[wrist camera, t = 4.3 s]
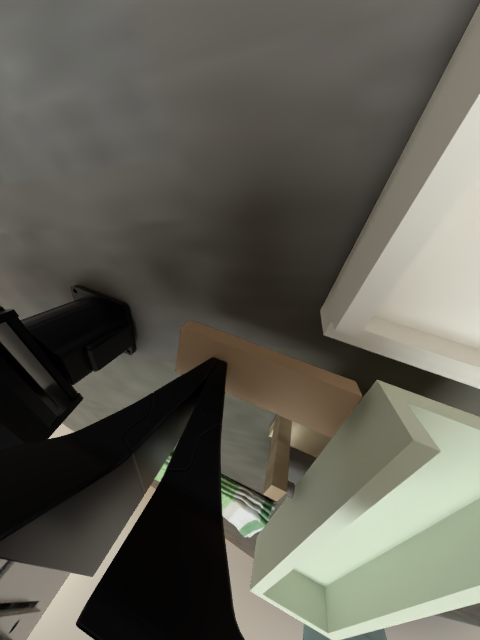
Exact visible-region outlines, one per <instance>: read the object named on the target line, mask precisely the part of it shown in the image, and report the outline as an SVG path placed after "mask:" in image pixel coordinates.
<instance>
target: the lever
mask: <svg viewBox="0 0 480 640" xmlns="http://www.w3.org/2000/svg"><path fill="white" fill-rule="evenodd" d="M212 357H215V358H218V359H220V360H223V361H225V362H227V375H226V386H225V392H226V393H228V394H230V395H233V396H235V397H237V398H240V399H242V400H244V401H247V402H249V403H251V404H254V405H256V406H258V407H261V408H263V409H265V410H268V411H270V412H272V413H275V414H277V415H279V416H282V417H284V418H286V419H289V420H291V421H293V422H296V423H298V424H300V425H303V426H305V427H307V428H310V429H312V430H314V431H317V432H319V433H321V434H324V435H326V436H328V437H331V438H332V436H333V435H334V434H335V432H336V431H337V430H338V429H339V427H340V426H341V425H342V423H343V422H344V421H345V419H346V418H347V417H348V415H349V414H350V413H351V411H352V410H353V409H354V407H355V406H356V405H357V404H358V402H359V401H360V400H361V398H362V397H363V396H362V394H361V392H360V390H359V387H358V385H357V383H356V381H353V380H350V379H348V378H345V377H342V376H340V375H337V374H334V373H332V372H329V371H326V370H324V369H321V368H318V367H316V366H313V365H310V364H308V363H305V362H302V361H299V360H297V359H294V358H291V357H289V356H286V355H283V354H281V353H278V352H275V351H273V350H270V349H267V348H265V347H262V346H259V345H257V344H254V343H251V342H249V341H246V340H243V339H241V338H238V337H235V336H233V335H230V334H227V333H224V332H222V331H219V330H216V329H214V328H211V327H208V326H206V325H203V324H200V323H198V322H195V321H192V320H190V321H189V322H187V323H186V324H184V325H183V326H182V327H181V330H180V338H179V347H178V355H177V363H176V371H177V372H179V373H181V374H185V373H186V372H188V371H190V370H191V369H193V368H195V367H196V366H198V365H200V364H201V363H203V362H205V361H206V360H208V359H210V358H212ZM250 591H251V592H252V593H254V594H256V595H257V596H259V597H261V598H263V599H264V600H266V601H267V602H269V603H271V604H273V605H274V606H276V607H277V608H279V609H281V610H282V611H285V612H286V613H288V614H289V615H291V616H293V617H294V618H296V619H298V620H299V621H301V622H303V623H304V624H306V625H308V626H309V627H311V628H313V629H314V630H316V631H318V632H319V633H321V634H323V635H324V636H326V637H328V638H329V639H331V640H342V639H345V638H349V637H353V636H357V635H360V634H364V633H368V632H372V631H375V630H379V629H383V628H386V627H390V626H394V625H398V624H402V623H405V622H409V621H413V620H417V619H420V618H424V617H428V616H432V615H435V614H439V613H443V612H447V611H450V610H454V609H458V608H462V607H465V606H469V605H473V604H477V603H480V417H478V416H475V415H472V414H470V413H467V412H464V411H462V410H459V409H456V408H453V407H451V406H448V405H445V404H442V403H440V402H437V401H434V400H431V399H429V398H426V397H423V396H420V395H418V394H415V393H412V392H410V391H407V390H404V389H401V388H399V387H396V386H393V385H390V384H388V383H385V382H382V381H379V380H376V381H375V383H374V384H373V385H372V387H371V388H370V389H369V391H368V392H367V393H366V394H365V396H364V397H363V398H362V400H361V401H360V402H359V404H358V405H357V406H356V408H355V409H354V410H353V411H352V413H351V414H350V415H349V417H348V418H347V419H346V421H345V422H344V423H343V425H342V426H341V427H340V429H339V430H338V431H337V432H336V434H335V435H334V436H333V438H332V439H331V440H330V442H329V443H328V444H327V446H326V447H325V448H324V449H323V451H322V452H321V453H320V455H319V456H318V457H317V459H316V460H315V461H314V463H313V464H312V465H311V467H310V468H309V469H308V470H307V472H306V473H305V474H304V476H303V477H302V478H301V480H300V481H299V482H298V484H297V485H296V486H295V492H294V496H293V498H290V497H287V498H286V499H285V501H284V502H283V503H282V505H281V506H280V507H279V508H278V510H277V511H276V512H275V514H274V515H273V516H272V518H271V519H270V520H269V522H268V523H267V524H266V525H265V527H264V528H263V529H262V531H261V532H260V533H259V535H258V536H257V540H256V547H255V554H254V562H253V569H252V576H251V584H250Z"/></svg>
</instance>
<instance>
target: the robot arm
mask: <svg viewBox="0 0 480 640" xmlns="http://www.w3.org/2000/svg"><path fill="white" fill-rule="evenodd" d="M71 291H72V294H73V297H74V300H75V301H72V302H70V303H67V304H64V305H61V306H59V307H56V308H53V309H50V310H48V311H45V312H42V313H39V314H36V315H34V316H31V317H28V318H25V319H23V320H20V319H19V318H18V317H19V315H18V314H17V313H16V312H15V310H14V309H6V310H4V308H3V307H1V306H0V640H26V639H27V638H28V636H29V635H30V633H31V632H32V630H33V629H34V627H35V625H36V624H37V623H38V621H39V620H40V618H41V617H42V615H43V614H44V612H45V611H46V609H47V607H48V606H49V605H50V603H51V601H52V600H53V599H54V597H55V595H56V594H57V592H58V591H59V589H60V588H61V586H62V585H63V583H64V582H65V580H66V579H67V577H68V576H69V574H70V573H75V574H80V575H85V576H90V577H93V575H94V574H95V573H96V571H97V569H98V568H99V566H100V565H101V563H102V561H103V560H104V558H105V557H106V555H107V554H108V552H109V550H110V549H111V547H112V545H113V544H114V543H115V541H116V539H117V538H118V536H119V535H120V533H121V531H122V530H123V528H124V527H125V525H126V523H127V522H128V520H129V518H130V517H131V516H132V514H133V512H134V511H135V509H136V508H137V506H138V504H139V503H140V501H141V500H142V498H143V497H144V494H145V493H146V492H147V490H148V488H149V487H150V485H151V484H152V482H153V481H154V479H155V477H156V476H157V474H158V473H159V471H160V469H161V468H162V466H163V465H164V463H165V462H166V460H167V458H168V457H169V455H170V454H171V452H172V450H173V449H174V447H175V446H176V444H177V442H178V441H179V442H178V444H177V446H176V449H175V451H174V453H173V455H172V457H171V459H170V462H169V464H168V466H167V468H166V471H165V473H164V475H163V477H162V479H161V481H160V483H159V485H158V487H157V489H156V491H155V492H154V494H153V496H152V498H151V499H150V501H149V502H148V504H147V505H146V507H145V509H144V510H143V512H142V514H141V515H140V517H139V518H138V520H137V522H136V523H135V525H134V527H133V528H132V530H131V532H130V533H129V535H128V536H127V538H126V540H125V541H124V543H123V544H122V546H121V548H120V549H119V551H118V553H117V554H116V556H115V558H114V559H113V561H112V562H111V564H110V566H109V567H108V569H107V571H106V572H105V574H104V575H103V577H102V579H101V580H100V582H99V583H98V585H97V587H96V588H95V590H94V592H93V593H92V595H91V597H90V598H89V600H88V602H87V603H86V605H85V607H84V609H83V610H82V612H81V614H80V616H79V618H78V620H77V622H76V625H77V627H78V628H79V629H81V630H82V631H83V632H85V633H86V634H87V635H89V636H90V637H92V638H93V639H94V640H245V639H244V637H243V636H242V634H241V632H240V630H239V627H238V624H237V622H236V618H235V613H234V608H233V600H232V592H231V584H230V576H229V568H228V561H227V553H226V544H225V536H224V527H223V515H222V491H221V431H222V419H223V408H224V397H225V386H226V375H227V362H225V361H223V360H220V359H218V358H215V357H212V358H210V359H208V360H206V361H205V362H203V363H201V364H200V365H198V366H196V367H195V368H193V369H191V370H190V371H188V372H186V373H185V374H183V375H181V376H180V377H178V378H176V379H175V380H173V381H171V382H170V383H168V384H166V385H165V386H163V387H161V388H160V389H158V390H156V391H155V392H154V394H153V393H151V394H149V395H148V396H146V397H144V398H143V399H141V400H139V401H137V402H136V403H134V404H132V405H130V406H128V407H126V408H124V409H122V410H120V411H118V412H116V413H114V414H112V415H110V416H108V417H106V418H104V419H102V420H100V421H98V422H96V423H93V424H91V425H89V426H87V427H85V428H83V429H81V430H79V431H76V432H74V433H71V434H68V435H64V436H61V437H57V438H52V439H48V438H49V437H50V436H51V435H52V433H53V432H54V431H55V430H56V429H57V428H58V427H59V426H60V425H61V423H62V422H63V421H64V420H65V419H66V418H67V417H68V416H69V414H70V413H71V412H72V411H73V410H74V409H75V408H76V407H77V405H78V404H79V403H80V402H81V401H82V400H83V397H82V396H81V394H80V393H77V391H76V390H75V389H74V388H73V386H72V385H74V384H76V383H77V382H78V381H80V380H81V379H83V378H84V377H85V376H87V375H88V374H89V373H91V372H92V371H94V372H96V371H98V370H100V369H101V368H103V367H104V366H105V365H107V364H108V363H110V362H111V361H112V360H114V359H115V358H116V357H118V356H119V355H120V354H122V353H123V352H124V353H127V354H129V355H132V354H133V353H135V345H134V339H133V332H132V325H131V318H130V312H129V307H128V306H127V304H125V303H123V302H121V301H118V300H115V299H113V298H110V297H108V296H105V295H102V294H100V293H97V292H94V291H92V290H89V289H87V288H84V287H81V286H79V285H74V286H72V287H71ZM71 384H72V385H71ZM179 439H180V440H179Z"/></svg>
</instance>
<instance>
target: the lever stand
mask: <svg viewBox="0 0 480 640" xmlns="http://www.w3.org/2000/svg"><path fill="white" fill-rule="evenodd" d="M358 404H359V403H358ZM358 404H357V405H358ZM357 405H356V406H357ZM356 406H355V407H354V409H355V408H356ZM354 409H353V410H354ZM353 410H352V411H353ZM352 411H351V413H352ZM351 413H350V414H351ZM350 414H349V415H350ZM349 415H348V417H349ZM348 417H347V418H348ZM347 418H346V419H347ZM346 419H345V421H346ZM345 421H344V422H345ZM344 422H343V423H344ZM343 423H342V425H343ZM342 425H341V426H342ZM341 426H340V427H341ZM340 427H339V429H340ZM339 429H338V430H339ZM338 430H337V431H338ZM337 431H336V432H337ZM336 432H335V434H336ZM335 434H334V435H335ZM334 435H333V436H334ZM333 436H332V438H333ZM269 437H271V438H272V441H271V448H270V454H269V460H268V466H267V473H266V479H265V485H264V492H263V495H265V496H267V497H269V498H271V499H273V500H275V501H278V500H279V499H280V498H281V497H282V496H283V495H286V496H288V497H290V498H293V496H294V492H295V485H294V483H292V482H290V481H288V469H289V456H290V446H291V447H294V448H296V449H298V450H300V451H303V452H305V453H307V454H309V455H311V456H314V457H316V458H317V457H318V456H319V455H320V453H321V452H322V451H323V449H324V448H325V447H326V446H327V444H328V443H329V442H330V440H331V439H332V438H331V437H328V436H326V435H324V434H321V433H319V432H317V431H314V430H312V429H310V428H307V427H305V426H303V425H300V424H298V423H296V422H293V421H291V420H289V419H286V418H284V417H282V416H279V415H277V417H276V418H275V420H274V422H273V424H272V425H271V427H270V432H269Z"/></svg>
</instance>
